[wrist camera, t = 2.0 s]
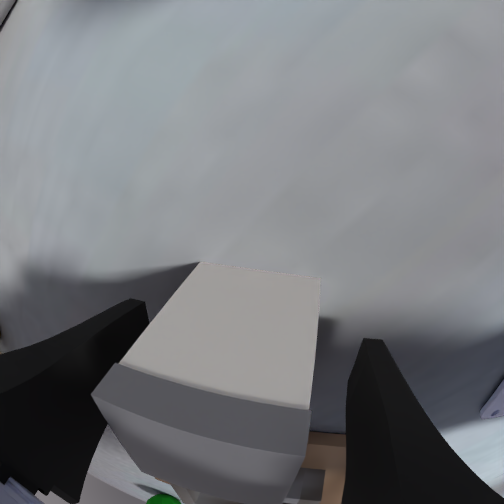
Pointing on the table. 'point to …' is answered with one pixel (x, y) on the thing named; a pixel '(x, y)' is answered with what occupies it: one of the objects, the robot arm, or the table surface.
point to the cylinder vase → (5, 8)
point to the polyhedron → (162, 499)
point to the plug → (221, 384)
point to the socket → (301, 475)
